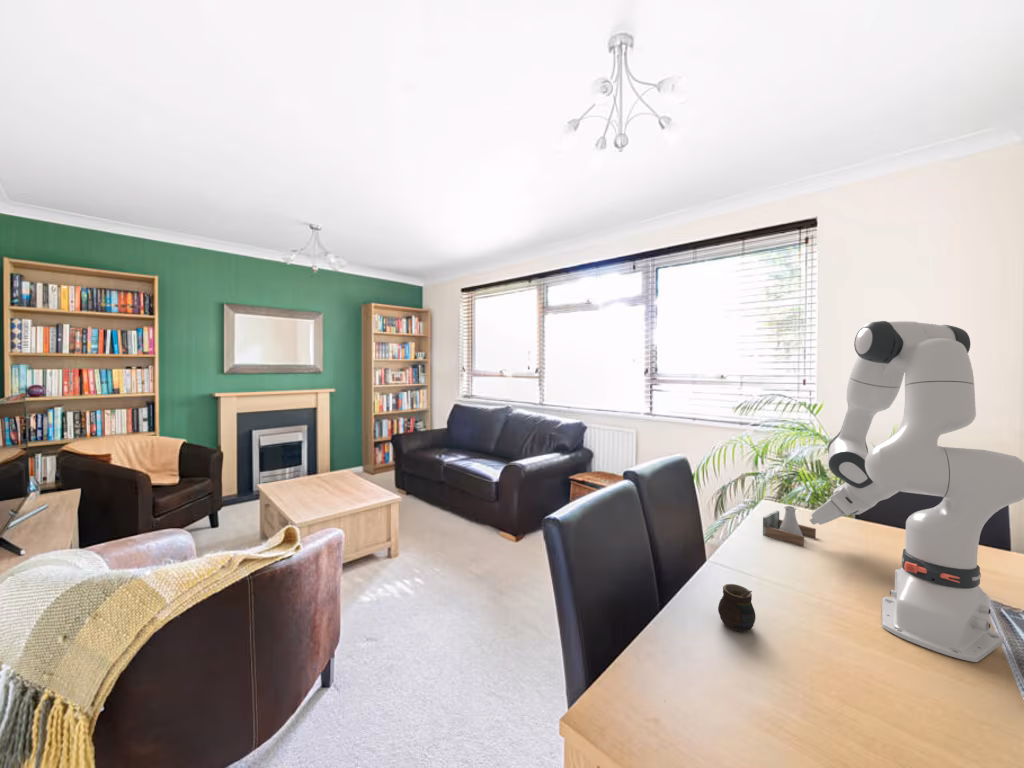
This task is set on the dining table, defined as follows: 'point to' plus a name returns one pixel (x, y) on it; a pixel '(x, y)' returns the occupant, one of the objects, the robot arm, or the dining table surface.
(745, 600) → the mate gourd
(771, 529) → the slot bay
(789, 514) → the flask
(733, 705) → the dining table surface
